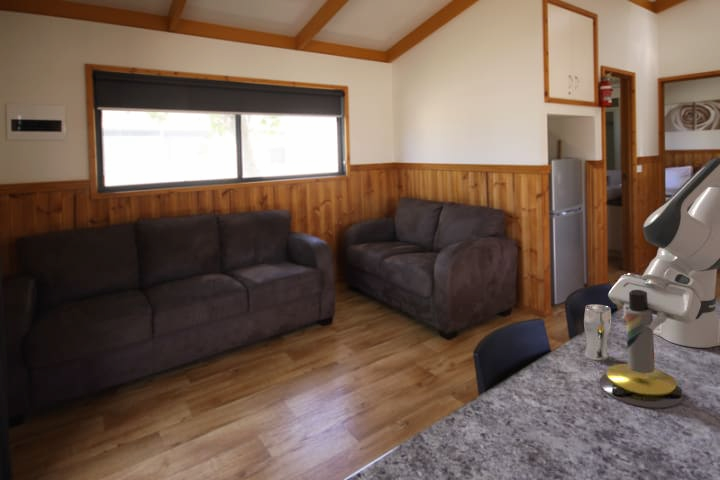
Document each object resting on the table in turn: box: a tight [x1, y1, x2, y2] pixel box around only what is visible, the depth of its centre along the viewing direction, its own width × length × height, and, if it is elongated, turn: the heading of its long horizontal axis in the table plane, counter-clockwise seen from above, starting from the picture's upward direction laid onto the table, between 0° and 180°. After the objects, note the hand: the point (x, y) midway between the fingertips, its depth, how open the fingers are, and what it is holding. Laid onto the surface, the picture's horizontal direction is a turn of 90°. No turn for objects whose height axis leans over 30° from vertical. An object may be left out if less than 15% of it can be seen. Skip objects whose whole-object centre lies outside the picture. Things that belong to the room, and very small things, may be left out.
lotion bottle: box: [625, 290, 656, 373], centre depth 115 cm, size 6×6×20 cm
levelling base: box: [599, 363, 684, 410], centre depth 117 cm, size 18×18×3 cm
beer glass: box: [583, 304, 612, 361], centre depth 135 cm, size 7×7×15 cm
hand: (636, 325), depth 114 cm, fingers closed on lotion bottle, 5 cm apart
